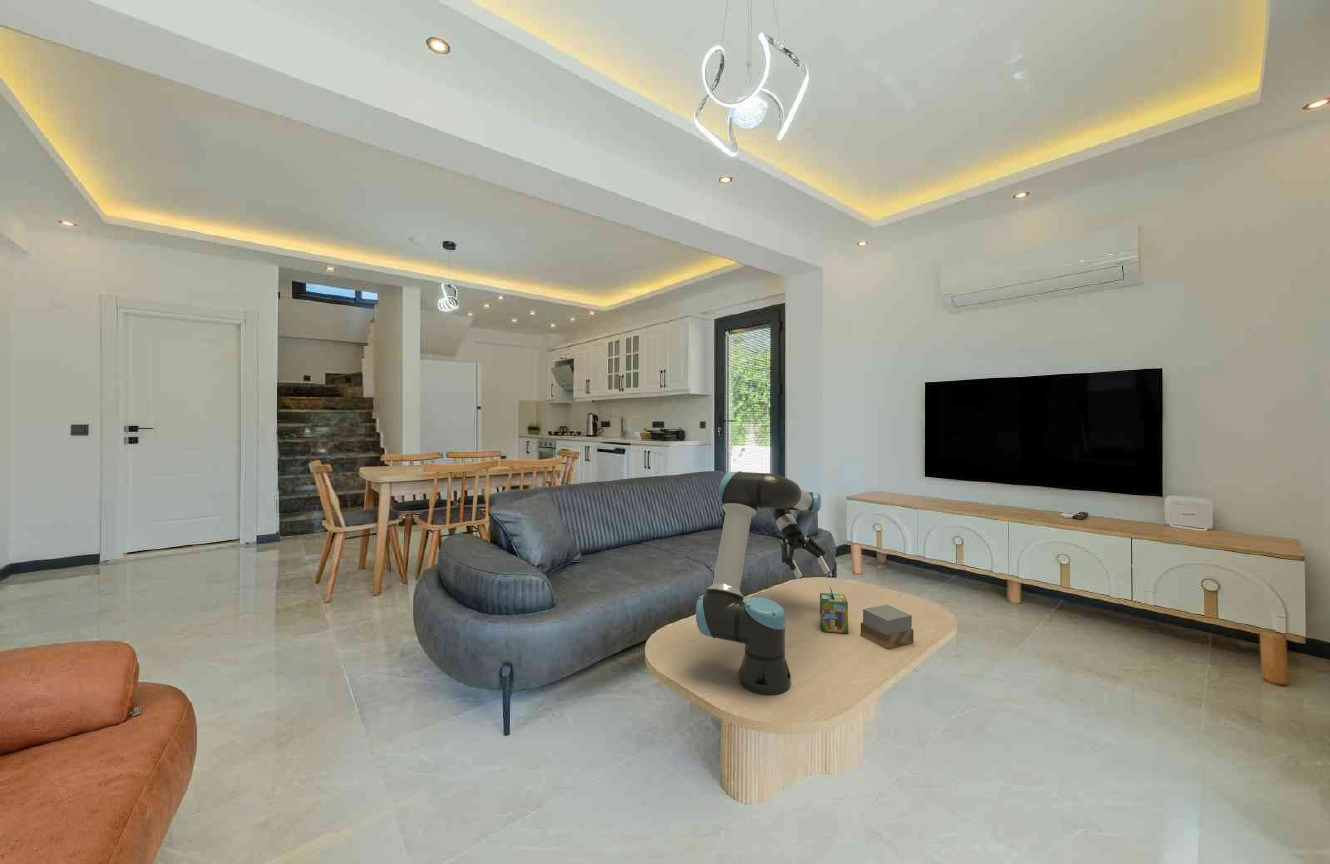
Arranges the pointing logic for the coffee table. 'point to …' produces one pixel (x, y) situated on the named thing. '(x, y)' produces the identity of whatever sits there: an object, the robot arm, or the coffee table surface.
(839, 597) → the chalk box
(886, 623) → the tower top slab
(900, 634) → the tower bottom slab
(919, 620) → the coffee table surface
